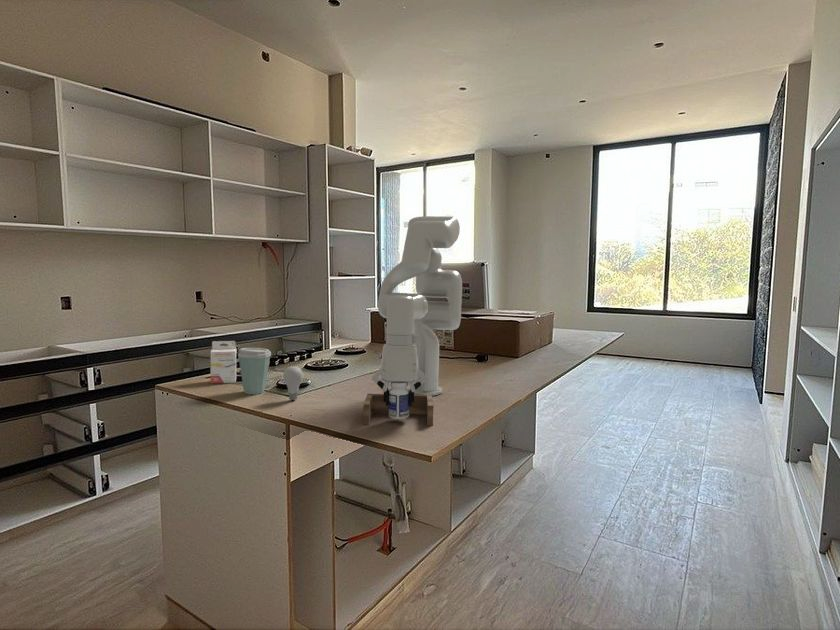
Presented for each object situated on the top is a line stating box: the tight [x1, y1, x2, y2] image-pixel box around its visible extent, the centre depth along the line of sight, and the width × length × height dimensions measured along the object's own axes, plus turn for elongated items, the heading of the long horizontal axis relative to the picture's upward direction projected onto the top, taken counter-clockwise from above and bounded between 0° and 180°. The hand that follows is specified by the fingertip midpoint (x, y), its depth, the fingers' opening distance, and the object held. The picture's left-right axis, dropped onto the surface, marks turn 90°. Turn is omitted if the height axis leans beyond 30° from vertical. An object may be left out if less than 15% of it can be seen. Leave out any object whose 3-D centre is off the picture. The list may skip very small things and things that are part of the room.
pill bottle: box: [388, 382, 410, 420], centre depth 132 cm, size 6×6×10 cm
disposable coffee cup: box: [237, 347, 272, 395], centre depth 159 cm, size 11×11×15 cm
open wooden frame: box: [362, 393, 434, 426], centre depth 135 cm, size 12×19×6 cm, turn 91°
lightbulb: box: [282, 365, 304, 401], centre depth 151 cm, size 6×6×11 cm
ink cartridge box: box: [210, 340, 237, 385], centre depth 173 cm, size 9×5×15 cm, turn 108°
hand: (398, 404), depth 132 cm, fingers closed on pill bottle, 5 cm apart
